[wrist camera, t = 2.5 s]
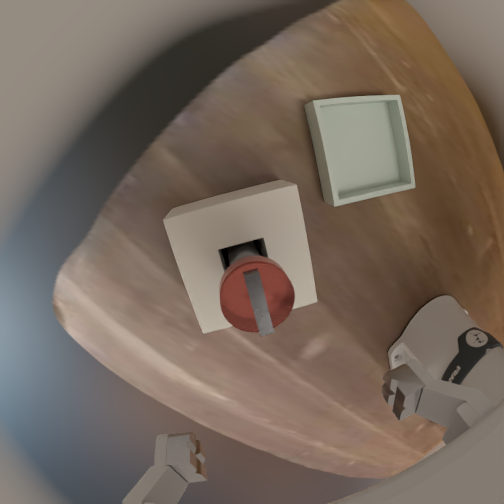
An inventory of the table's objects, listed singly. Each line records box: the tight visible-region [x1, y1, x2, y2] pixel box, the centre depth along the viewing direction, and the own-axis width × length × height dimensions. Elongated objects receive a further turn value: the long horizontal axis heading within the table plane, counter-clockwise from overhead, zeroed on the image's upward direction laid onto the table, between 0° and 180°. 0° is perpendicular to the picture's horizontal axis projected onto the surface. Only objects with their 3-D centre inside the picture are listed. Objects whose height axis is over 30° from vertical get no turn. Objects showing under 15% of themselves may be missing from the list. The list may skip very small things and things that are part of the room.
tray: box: [304, 95, 415, 207], centre depth 28 cm, size 11×11×3 cm
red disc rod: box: [219, 240, 295, 336], centre depth 25 cm, size 5×5×14 cm
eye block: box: [163, 180, 317, 334], centre depth 29 cm, size 12×12×6 cm
